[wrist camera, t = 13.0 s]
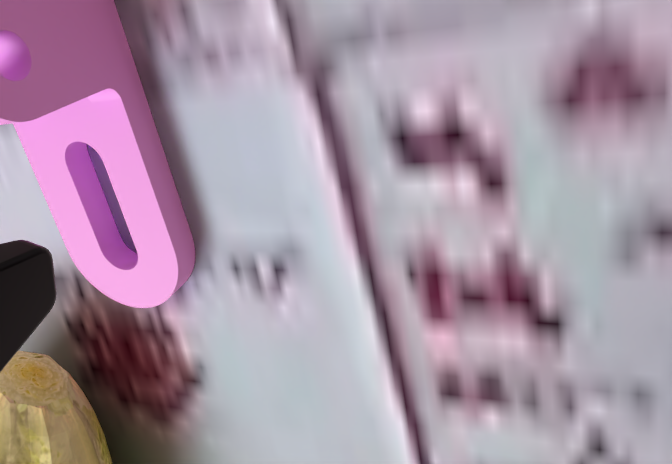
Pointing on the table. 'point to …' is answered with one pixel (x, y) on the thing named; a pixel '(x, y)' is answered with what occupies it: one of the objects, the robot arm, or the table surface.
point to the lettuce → (46, 415)
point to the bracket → (93, 145)
